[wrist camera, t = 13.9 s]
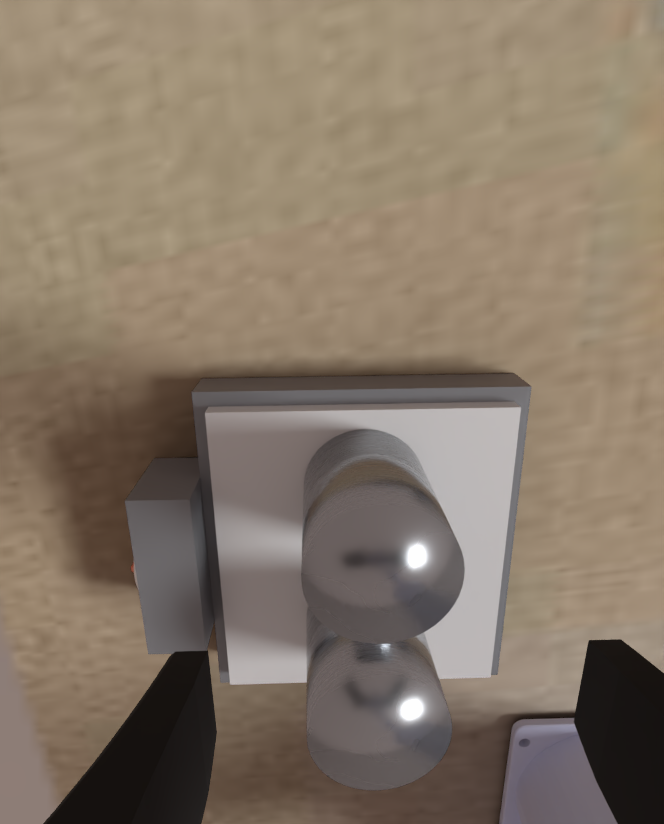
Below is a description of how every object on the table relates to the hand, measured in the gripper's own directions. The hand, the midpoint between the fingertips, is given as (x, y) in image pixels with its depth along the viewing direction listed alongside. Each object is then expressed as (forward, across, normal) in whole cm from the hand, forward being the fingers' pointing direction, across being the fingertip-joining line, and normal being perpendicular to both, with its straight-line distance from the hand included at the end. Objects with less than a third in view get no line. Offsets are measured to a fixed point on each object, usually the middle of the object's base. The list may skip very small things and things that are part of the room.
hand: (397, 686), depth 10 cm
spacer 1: (+8, 0, 0) cm, 8 cm away
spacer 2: (+8, 0, +5) cm, 10 cm away
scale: (+10, +1, +3) cm, 11 cm away
